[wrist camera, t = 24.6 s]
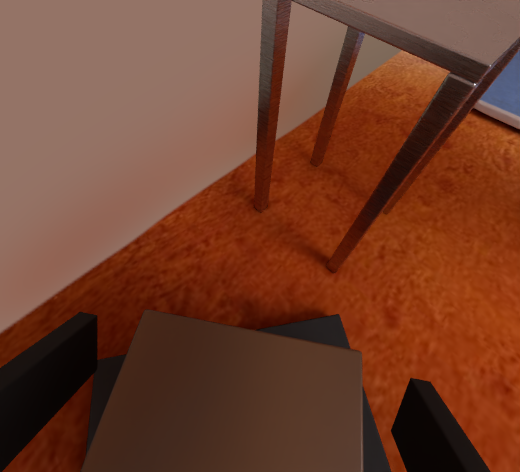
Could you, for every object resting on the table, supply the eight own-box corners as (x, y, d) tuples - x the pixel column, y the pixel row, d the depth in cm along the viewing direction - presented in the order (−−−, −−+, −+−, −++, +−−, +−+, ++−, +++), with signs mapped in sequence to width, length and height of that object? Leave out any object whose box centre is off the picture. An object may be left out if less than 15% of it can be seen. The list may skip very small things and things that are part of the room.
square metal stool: (334, 273, 19) (491, 65, 7) (253, 207, 21) (263, -31, 9) (391, 209, 22) (570, -14, 10) (315, 158, 25) (382, -69, 12)
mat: (85, 596, 11) (68, 618, 10) (104, 362, 15) (94, 360, 14) (393, 504, 13) (406, 514, 12) (333, 318, 17) (339, 313, 16)
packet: (293, 374, 15) (363, 351, 6) (277, 528, 12) (372, 944, 3) (203, 356, 15) (143, 307, 6) (165, 502, 12) (-59, 813, 3)
